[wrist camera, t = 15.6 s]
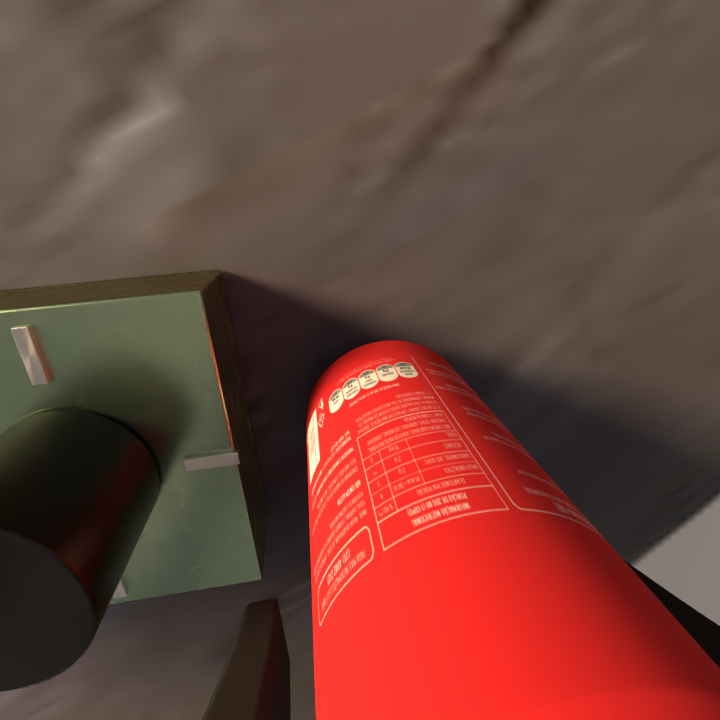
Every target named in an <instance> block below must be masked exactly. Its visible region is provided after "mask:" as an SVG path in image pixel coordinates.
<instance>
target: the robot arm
mask: <svg viewBox="0 0 720 720" xmlns="http://www.w3.org/2000/svg"><path fill="white" fill-rule="evenodd" d="M625 562H626V561H625ZM626 563H627V562H626ZM627 564H628V566H629V567H630V568H631V569H632V570H633V571H634V572H635V573H636V575H637V576H638V577H639V578H640V579H641V580H642V581H643V582H644V584H645V585H646V586H647V587H648V588H649V589H650V590H651V591H652V593H653V594H654V595H655V596H656V597H657V598H658V599H659V600H660V602H661V603H662V604H663V605H664V606H665V607H666V608H667V609H668V611H669V612H670V613H671V614H672V615H673V616H674V617H675V618H676V620H677V621H678V622H679V623H680V624H681V625H682V626H683V627H684V629H685V630H686V631H687V632H688V633H689V634H690V635H691V636H692V638H693V639H694V640H695V641H696V642H697V643H698V644H699V645H700V647H701V648H702V649H703V650H704V651H705V652H706V653H707V654H708V656H709V657H710V658H711V659H712V660H713V661H714V662H715V663H716V665H717V666H718V667H719V668H720V626H719V625H717V624H716V623H714V622H713V621H711V620H710V619H708V618H707V617H705V616H704V615H702V614H701V613H699V612H697V611H696V610H695V609H693V608H692V607H690V606H689V605H687V604H686V603H684V602H683V601H681V600H680V599H679V598H677V597H676V596H674V595H673V594H671V593H670V592H669V591H667V590H665V589H664V588H663V587H661V586H660V585H658V584H657V583H656V582H654V581H653V580H651V579H650V578H649V577H647V576H646V575H644V574H643V573H641V572H640V571H638V570H637V569H635V568H634V567H633V566H632V565H630V564H629V563H627ZM202 720H290V660H289V655H288V650H287V645H286V640H285V635H284V630H283V625H282V620H281V615H280V610H279V604H278V599H277V598H276V599H270V600H264V601H258V602H252V603H250V604H249V605H248V606H247V607H246V609H245V612H244V616H243V619H242V622H241V625H240V628H239V630H238V633H237V636H236V639H235V642H234V644H233V647H232V650H231V652H230V655H229V657H228V660H227V662H226V665H225V667H224V670H223V672H222V675H221V677H220V679H219V681H218V684H217V686H216V688H215V691H214V693H213V695H212V698H211V700H210V702H209V705H208V707H207V709H206V712H205V714H204V716H203V718H202Z"/></svg>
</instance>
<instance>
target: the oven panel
mask: <svg viewBox="0 0 720 720" xmlns="http://www.w3.org/2000/svg"><path fill="white" fill-rule="evenodd" d="M56 410H74V411H82V412H88V413H92V414H96V415H99V416H102V417H105V418H107V419H110V420H112V421H114V422H116V423H118V424H120V425H121V426H123V427H125V428H126V429H128V430H129V431H130V432H132V433H133V434H134V435H135V436H136V437H138V438H139V440H140V441H141V442H142V443H143V444H144V445H145V446H146V448H147V449H148V450H149V452H150V453H151V455H152V457H153V459H154V461H155V464H156V467H157V470H158V475H159V493H158V497H157V500H156V503H155V505H154V508H153V510H152V512H151V514H150V516H149V519H148V521H147V523H146V525H145V527H144V529H143V532H142V534H141V536H140V538H139V540H138V542H137V545H136V547H135V549H134V551H133V553H132V555H131V558H130V560H129V562H128V564H127V566H126V568H125V571H124V573H123V575H122V577H121V579H120V582H119V584H118V586H117V588H116V590H115V592H114V595H113V597H112V599H111V601H110V603H109V605H111V604H117V603H123V602H129V601H136V600H142V599H148V598H154V597H160V596H166V595H172V594H178V593H184V592H190V591H197V590H203V589H209V588H215V587H221V586H227V585H233V584H239V583H245V582H252V581H258V580H261V579H262V573H263V563H264V552H265V541H266V531H267V520H268V511H267V506H266V500H265V495H264V490H263V485H262V479H261V474H260V469H259V464H258V458H257V453H256V448H255V443H254V437H253V432H252V427H251V421H250V416H249V411H248V406H247V400H246V395H245V390H244V385H243V379H242V374H241V369H240V364H239V358H238V353H237V348H236V343H235V337H234V332H233V327H232V322H231V316H230V311H229V306H228V300H227V295H226V290H225V285H224V279H223V274H222V271H221V270H209V271H199V272H188V273H178V274H168V275H157V276H147V277H137V278H126V279H116V280H105V281H95V282H85V283H74V284H64V285H54V286H43V287H33V288H23V289H12V290H2V291H0V434H2V433H3V432H4V431H5V430H6V429H8V428H9V427H10V426H11V425H13V424H15V423H16V422H18V421H20V420H22V419H24V418H26V417H29V416H31V415H35V414H38V413H42V412H48V411H56Z"/></svg>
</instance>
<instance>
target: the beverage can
mask: <svg viewBox="0 0 720 720" xmlns="http://www.w3.org/2000/svg"><path fill="white" fill-rule="evenodd" d="M306 434H307V464H308V494H309V524H310V554H311V584H312V615H313V645H314V675H315V705H316V720H720V668H719V667H718V666H717V665H716V663H715V662H714V661H713V660H712V659H711V658H710V657H709V656H708V654H707V653H706V652H705V651H704V650H703V649H702V648H701V647H700V645H699V644H698V643H697V642H696V641H695V640H694V639H693V638H692V636H691V635H690V634H689V633H688V632H687V631H686V630H685V629H684V627H683V626H682V625H681V624H680V623H679V622H678V621H677V620H676V618H675V617H674V616H673V615H672V614H671V613H670V612H669V611H668V609H667V608H666V607H665V606H664V605H663V604H662V603H661V602H660V600H659V599H658V598H657V597H656V596H655V595H654V594H653V593H652V591H651V590H650V589H649V588H648V587H647V586H646V585H645V584H644V582H643V581H642V580H641V579H640V578H639V577H638V576H637V575H636V573H635V572H634V571H633V570H632V569H631V568H630V567H629V566H628V564H627V563H626V562H625V561H624V560H623V559H622V558H621V556H620V555H619V554H618V553H617V552H616V551H615V550H614V549H613V547H612V546H611V545H610V544H609V543H608V542H607V541H606V540H605V538H604V537H603V536H602V535H601V534H600V533H599V532H598V531H597V529H596V528H595V527H594V526H593V525H592V524H591V523H590V522H589V520H588V519H587V518H586V517H585V516H584V515H583V514H582V513H581V511H580V510H579V509H578V508H577V507H576V506H575V505H574V504H573V502H572V501H571V500H570V499H569V498H568V497H567V496H566V495H565V493H564V492H563V491H562V490H561V489H560V488H559V487H558V486H557V484H556V483H555V482H554V481H553V480H552V479H551V478H550V477H549V475H548V474H547V473H546V472H545V471H544V470H543V469H542V468H541V466H540V465H539V464H538V463H537V462H536V461H535V460H534V459H533V457H532V456H531V455H530V454H529V453H528V452H527V451H526V450H525V448H524V447H523V446H522V445H521V444H520V443H519V442H518V441H517V439H516V438H515V437H514V436H513V435H512V434H511V433H510V431H509V430H508V429H507V428H506V427H505V426H504V425H503V424H502V422H501V421H500V420H499V419H498V418H497V417H496V416H495V415H494V413H493V412H492V411H491V410H490V409H489V408H488V407H487V406H486V404H485V403H484V402H483V401H482V400H481V399H480V398H479V397H478V395H477V394H476V393H475V392H474V391H473V390H472V389H471V388H470V386H469V385H468V384H467V383H466V382H465V381H464V380H463V379H462V377H461V376H460V375H459V374H458V373H457V372H456V371H455V370H454V368H453V367H452V366H451V365H450V364H449V363H448V362H447V361H446V360H445V359H444V358H443V357H441V356H440V355H439V354H437V353H436V352H434V351H433V350H431V349H429V348H427V347H424V346H422V345H419V344H416V343H412V342H407V341H398V340H388V341H379V342H373V343H368V344H365V345H362V346H359V347H357V348H355V349H353V350H351V351H349V352H347V353H346V354H344V355H343V356H341V357H340V358H339V359H337V360H336V361H335V362H334V363H333V364H331V365H330V366H329V367H328V368H327V370H326V371H325V372H324V373H323V374H322V375H321V377H320V378H319V380H318V381H317V383H316V385H315V386H314V388H313V391H312V393H311V396H310V398H309V402H308V406H307V413H306Z"/></svg>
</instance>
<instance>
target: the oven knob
mask: <svg viewBox="0 0 720 720" xmlns="http://www.w3.org/2000/svg"><path fill="white" fill-rule="evenodd" d="M158 493H159V475H158V470H157V467H156V464H155V461H154V459H153V457H152V455H151V453H150V452H149V450H148V449H147V448H146V446H145V445H144V444H143V443H142V442H141V441H140V440H139V438H138V437H136V436H135V435H134V434H133V433H132V432H130V431H129V430H128V429H126V428H125V427H123V426H121V425H120V424H118V423H116V422H114V421H112V420H110V419H107V418H105V417H102V416H99V415H96V414H92V413H88V412H82V411H74V410H56V411H48V412H42V413H38V414H35V415H31V416H29V417H26V418H24V419H22V420H20V421H18V422H16V423H15V424H13V425H11V426H10V427H9V428H8V429H6V430H5V431H4V432H3V433H2V434H0V692H7V691H13V690H18V689H23V688H27V687H30V686H33V685H36V684H39V683H42V682H44V681H47V680H49V679H51V678H53V677H55V676H57V675H58V674H60V673H62V672H63V671H65V670H66V669H67V668H69V667H70V666H72V665H73V664H74V663H75V662H76V661H77V660H78V659H79V658H80V657H81V656H82V655H83V654H84V652H85V651H86V650H87V648H88V647H89V646H90V644H91V642H92V640H93V638H94V636H95V634H96V631H97V629H98V627H99V625H100V623H101V621H102V618H103V616H104V614H105V612H106V610H107V608H108V605H109V603H110V601H111V599H112V597H113V595H114V592H115V590H116V588H117V586H118V584H119V582H120V579H121V577H122V575H123V573H124V571H125V568H126V566H127V564H128V562H129V560H130V558H131V555H132V553H133V551H134V549H135V547H136V545H137V542H138V540H139V538H140V536H141V534H142V532H143V529H144V527H145V525H146V523H147V521H148V519H149V516H150V514H151V512H152V510H153V508H154V505H155V503H156V500H157V497H158Z"/></svg>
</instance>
